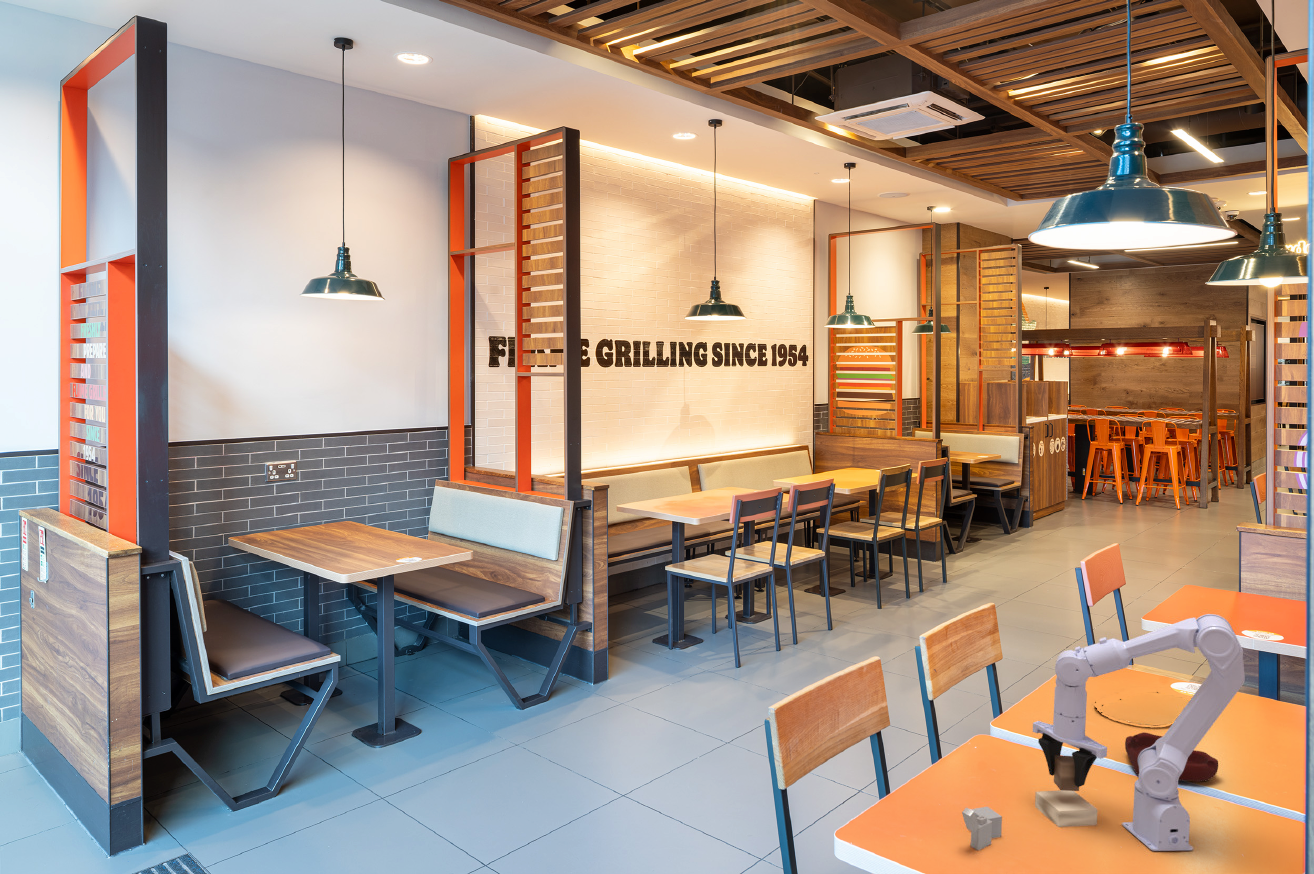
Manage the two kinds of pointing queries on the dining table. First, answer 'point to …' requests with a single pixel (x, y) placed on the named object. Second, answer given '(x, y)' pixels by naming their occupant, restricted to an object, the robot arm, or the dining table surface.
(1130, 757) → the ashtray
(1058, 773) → the walnut block
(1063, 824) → the birch block
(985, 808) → the grey block
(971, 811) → the lighter
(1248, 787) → the dining table surface
